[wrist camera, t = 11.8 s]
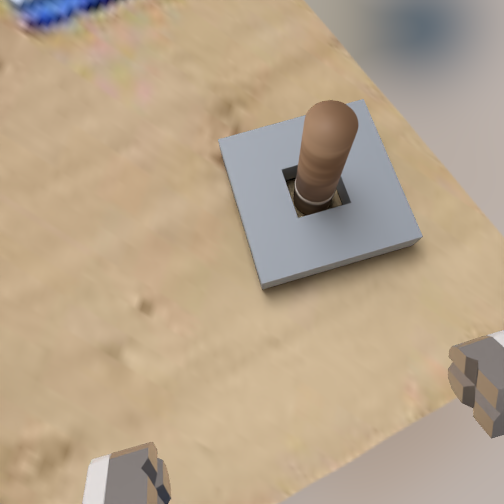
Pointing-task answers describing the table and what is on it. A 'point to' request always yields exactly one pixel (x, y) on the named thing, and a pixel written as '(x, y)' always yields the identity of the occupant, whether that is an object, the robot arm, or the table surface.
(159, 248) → the table surface
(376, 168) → the socket board
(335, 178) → the peg
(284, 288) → the table surface
